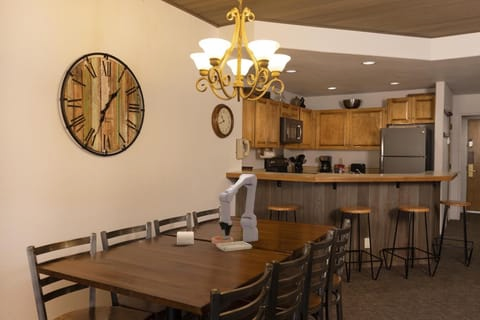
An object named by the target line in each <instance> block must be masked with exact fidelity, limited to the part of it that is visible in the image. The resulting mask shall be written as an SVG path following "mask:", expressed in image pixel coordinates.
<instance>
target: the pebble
mask: <svg viewBox="0 0 480 320" xmlns="http://www.w3.org/2000/svg"><path fill="white" fill-rule="evenodd" d="M221 236H222V237H230V235H229V236H226V235H225V229H222V230H221Z"/></svg>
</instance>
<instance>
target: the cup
mask: <svg viewBox="0 0 480 320" xmlns="http://www.w3.org/2000/svg"><path fill="white" fill-rule="evenodd" d="M194 237H195V235H194V231H177V233H176V245H177V246H187V245H188V246H189V245H194V243H195V242H194V241H195V239H194Z"/></svg>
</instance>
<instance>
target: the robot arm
mask: <svg viewBox="0 0 480 320" xmlns="http://www.w3.org/2000/svg"><path fill="white" fill-rule="evenodd" d="M257 185H258V177H257V175H256V174H251V173H249V174H248V173H242V174H240V175H239V179H238V180H237V181H236V182H235V184H234V185H233V184H231V185H230V186H229V187H228V188H227V189H225V191H224V192H221V193H220V194H219V197H218V200H219V204H220V218H219V220H218V222H219V223H218V224H219V226H220V229H221V231H222V229H225V235H226V236H229V237H230V234H231V229H232V228H233V221H232V220H231V202H232V201H233V198H234V196H235V195H236V194H237V193H238V192H239V189H240V188H241V187H243V186H244V187H246V188H247V190H246V191H247V193H246V200H245V210H244V211H245V212H244V213H243V214H242V215H241V219H240V221H239V222H240V226H241V228H242V241H244V242H246V243H248V242H250V243H251V242H256V241H259V231H258V230H259V229H258V227H257V224H258V222H257V216H256V215H255V214H254V209H255V200H256V191H257Z"/></svg>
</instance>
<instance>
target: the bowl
mask: <svg viewBox="0 0 480 320" xmlns="http://www.w3.org/2000/svg"><path fill="white" fill-rule="evenodd" d="M228 242H234V238H233V237H232V236H229V240H223V237H222V235H219V236H213V237H212V238H211V244H212V245H215V246H216V244H218V243H228Z"/></svg>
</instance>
